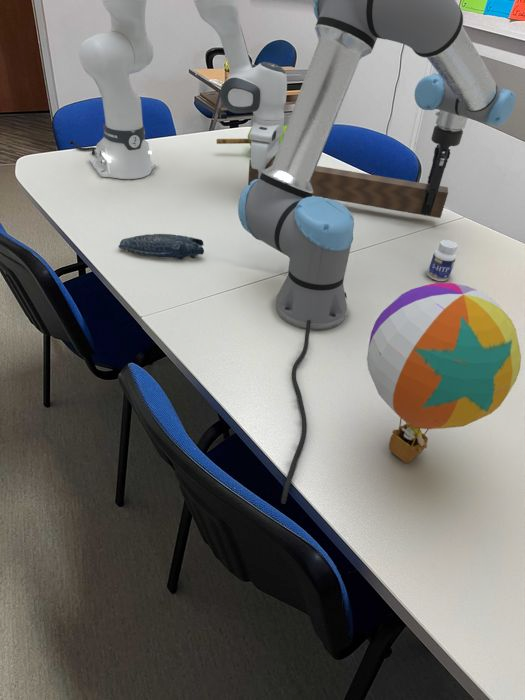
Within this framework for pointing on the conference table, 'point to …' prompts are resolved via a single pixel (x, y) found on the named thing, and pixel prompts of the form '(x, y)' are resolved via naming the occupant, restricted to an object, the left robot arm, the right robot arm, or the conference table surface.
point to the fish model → (163, 246)
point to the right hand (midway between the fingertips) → (425, 210)
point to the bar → (370, 190)
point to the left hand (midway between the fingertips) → (264, 174)
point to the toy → (441, 360)
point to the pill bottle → (442, 261)
